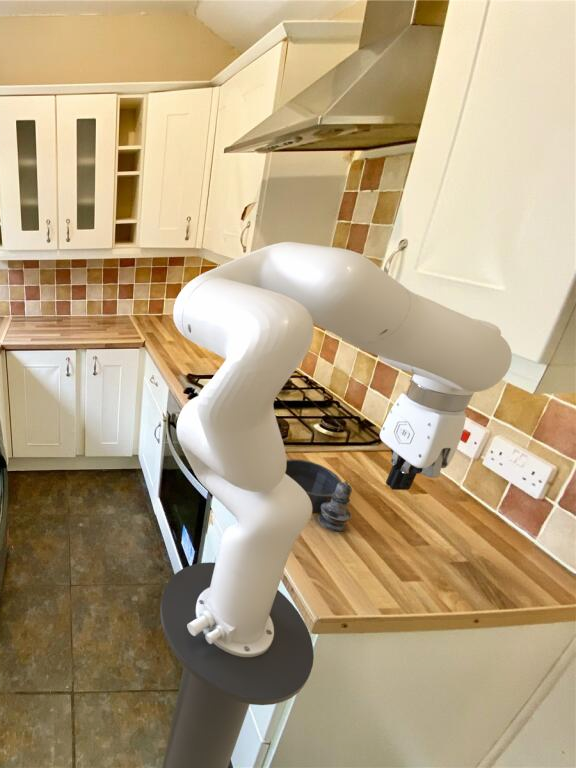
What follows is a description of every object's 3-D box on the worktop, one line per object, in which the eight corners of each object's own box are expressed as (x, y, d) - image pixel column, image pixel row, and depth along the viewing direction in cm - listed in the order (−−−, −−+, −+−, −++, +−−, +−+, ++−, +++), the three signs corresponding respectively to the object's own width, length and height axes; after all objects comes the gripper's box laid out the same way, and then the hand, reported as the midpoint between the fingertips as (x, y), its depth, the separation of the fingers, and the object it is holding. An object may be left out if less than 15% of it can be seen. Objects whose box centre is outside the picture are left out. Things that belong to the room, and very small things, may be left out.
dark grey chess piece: (341, 516, 96) (357, 475, 91) (350, 534, 91) (367, 492, 86) (313, 511, 97) (327, 470, 92) (320, 529, 92) (336, 487, 87)
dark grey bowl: (314, 520, 95) (320, 504, 93) (260, 485, 106) (264, 469, 104) (349, 499, 101) (355, 483, 99) (294, 468, 113) (298, 453, 110)
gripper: (381, 376, 72) (349, 461, 80) (453, 419, 59) (407, 516, 67) (423, 376, 72) (388, 461, 80) (506, 419, 59) (453, 517, 67)
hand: (397, 486), depth 74 cm, fingers closed
